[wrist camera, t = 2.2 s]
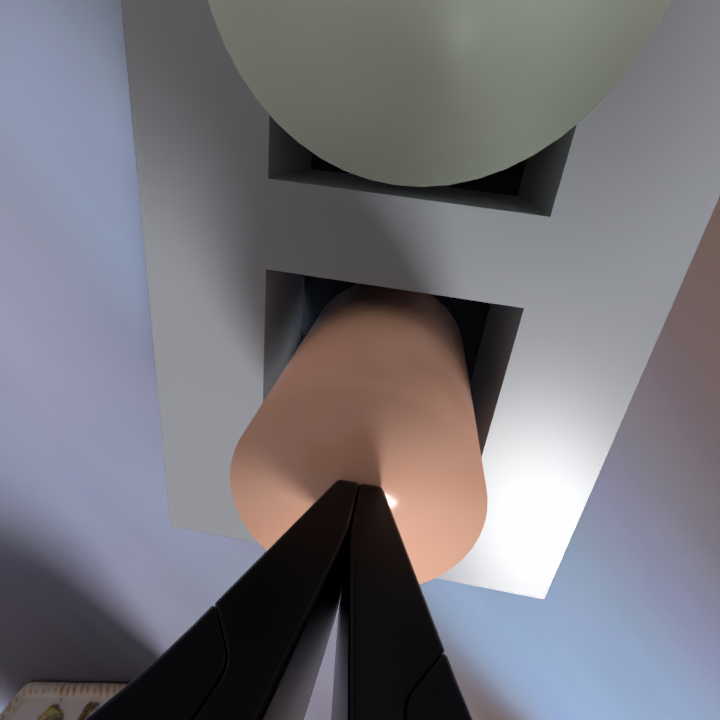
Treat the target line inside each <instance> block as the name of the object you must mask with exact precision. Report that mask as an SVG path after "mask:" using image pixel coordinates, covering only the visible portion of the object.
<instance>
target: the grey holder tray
mask: <svg viewBox="0 0 720 720" xmlns="http://www.w3.org/2000/svg"><path fill="white" fill-rule="evenodd" d="M121 5H122V16H123V27H124V37H125V48H126V58H127V69H128V80H129V90H130V101H131V112H132V122H133V133H134V143H135V154H136V165H137V175H138V186H139V197H140V207H141V218H142V228H143V239H144V250H145V260H146V271H147V282H148V292H149V303H150V314H151V324H152V335H153V345H154V356H155V367H156V377H157V388H158V399H159V409H160V420H161V430H162V441H163V452H164V462H165V473H166V484H167V494H168V505H169V515H170V526H173V527H178V528H183V529H188V530H193V531H198V532H203V533H209V534H214V535H219V536H224V537H229V538H234V539H239V540H244V541H249V542H254V543H258V542H257V540H256V539H255V538H254V537H253V536H252V534H251V533H250V532H249V530H248V529H247V528H246V526H245V524H244V523H243V521H242V519H241V517H240V516H239V513H238V511H237V508H236V506H235V504H234V500H233V496H232V492H231V484H230V469H231V462H232V458H233V453H234V451H235V448H236V446H237V444H238V441H239V439H240V438H241V436H242V435H243V433H244V431H245V430H246V428H247V427H248V425H249V424H250V422H251V420H252V419H253V417H254V416H255V414H256V413H257V411H258V410H259V408H260V406H261V405H262V403H263V402H264V400H265V399H266V397H267V396H268V394H269V392H270V391H271V389H272V388H273V386H274V385H275V383H276V381H277V380H278V378H279V377H280V375H281V374H282V372H283V371H284V369H285V367H286V366H287V364H288V363H289V361H290V360H291V358H292V357H293V355H294V353H295V352H296V350H297V349H298V347H299V346H300V341H301V325H302V309H303V292H304V276H305V275H307V276H314V277H320V278H327V279H334V280H340V281H347V282H354V283H360V284H367V285H373V286H380V287H387V288H393V289H400V290H407V291H413V292H420V293H427V294H433V295H440V296H447V297H453V298H460V299H466V300H473V301H480V302H486V303H490V307H489V311H488V315H487V319H486V323H485V327H484V331H483V335H482V339H481V343H480V347H479V351H478V355H477V359H476V363H475V367H474V371H473V375H472V379H471V383H470V390H471V396H472V402H473V408H474V415H475V421H476V427H477V433H478V439H479V445H480V451H481V458H482V464H483V470H484V476H485V482H486V489H487V497H488V502H487V515H486V519H485V524H484V527H483V529H482V532H481V534H480V536H479V538H478V540H477V542H476V543H475V545H474V546H473V548H472V549H471V550H470V552H469V553H468V554H467V555H466V556H465V557H464V558H463V559H462V560H461V561H460V562H459V563H458V564H457V565H455V566H454V567H453V568H451V569H450V570H448V571H447V572H445V573H444V574H442V575H440V576H438V577H436V578H438V579H443V580H448V581H453V582H458V583H463V584H468V585H473V586H479V587H484V588H489V589H494V590H499V591H504V592H509V593H514V594H519V595H524V596H529V597H535V598H540V599H544V598H545V596H546V594H547V591H548V589H549V587H550V584H551V582H552V580H553V578H554V575H555V573H556V571H557V568H558V566H559V564H560V562H561V559H562V557H563V555H564V552H565V550H566V548H567V545H568V543H569V541H570V539H571V536H572V534H573V532H574V529H575V527H576V525H577V522H578V520H579V518H580V516H581V513H582V511H583V509H584V506H585V504H586V502H587V500H588V497H589V495H590V493H591V490H592V488H593V486H594V483H595V481H596V479H597V477H598V474H599V472H600V470H601V467H602V465H603V463H604V460H605V458H606V456H607V454H608V451H609V449H610V447H611V444H612V442H613V440H614V438H615V435H616V433H617V431H618V428H619V426H620V424H621V421H622V419H623V417H624V415H625V412H626V410H627V408H628V405H629V403H630V401H631V399H632V396H633V394H634V392H635V389H636V387H637V385H638V382H639V380H640V378H641V376H642V373H643V371H644V369H645V366H646V364H647V362H648V359H649V357H650V355H651V353H652V350H653V348H654V346H655V343H656V341H657V339H658V337H659V334H660V332H661V330H662V327H663V325H664V323H665V320H666V318H667V316H668V314H669V311H670V309H671V307H672V304H673V302H674V300H675V297H676V295H677V293H678V291H679V288H680V286H681V284H682V281H683V279H684V277H685V275H686V272H687V270H688V268H689V265H690V263H691V261H692V258H693V256H694V254H695V252H696V249H697V247H698V245H699V242H700V240H701V238H702V235H703V233H704V231H705V229H706V226H707V224H708V222H709V219H710V217H711V215H712V213H713V210H714V208H715V206H716V203H717V201H718V199H719V196H720V0H671V2H670V4H669V6H668V8H667V10H666V12H665V14H664V16H663V18H662V20H661V22H660V23H659V25H658V27H657V28H656V30H655V31H654V33H653V34H652V36H651V38H650V39H649V41H648V42H647V44H646V45H645V47H644V49H643V50H642V52H641V53H640V55H639V56H638V58H637V59H636V60H635V62H634V63H633V64H632V66H631V67H630V68H629V69H628V71H627V72H626V73H625V74H624V76H623V77H622V78H621V79H620V81H619V82H618V83H617V85H616V86H615V87H614V88H613V89H612V90H611V91H610V93H609V94H608V95H607V96H606V97H605V98H604V99H603V100H602V101H601V102H600V103H599V104H598V105H597V106H596V107H595V108H594V109H593V110H592V111H591V112H590V113H589V114H588V115H587V116H586V117H585V118H583V119H582V120H581V121H580V122H579V123H577V124H576V125H575V126H574V127H573V128H571V129H570V130H569V131H568V132H567V133H565V134H564V135H563V136H562V137H561V138H559V139H558V140H556V141H554V142H553V143H551V144H550V145H548V146H547V147H545V148H544V149H542V150H541V151H539V152H538V153H536V154H535V155H533V156H531V157H529V158H527V160H526V164H525V168H524V172H523V176H522V180H521V184H520V188H519V192H518V196H511V195H504V194H496V193H489V192H481V191H474V190H466V189H459V188H451V187H444V186H429V187H416V186H400V185H392V184H387V183H383V182H378V181H373V180H369V179H366V178H363V177H360V176H358V175H353V174H346V173H338V172H331V171H323V170H316V169H311V161H312V152H311V151H309V150H308V149H307V148H305V147H304V146H302V145H301V144H300V143H298V142H297V141H296V140H295V139H294V138H293V137H292V136H290V135H289V134H288V133H287V132H286V131H285V130H284V129H283V128H282V127H281V126H280V125H278V124H277V123H276V122H275V120H274V119H273V118H272V117H271V116H270V114H269V113H268V112H267V111H266V110H265V109H264V107H263V106H262V105H261V104H260V103H259V102H258V100H257V99H256V98H255V96H254V95H253V93H252V92H251V90H250V89H249V87H248V86H247V84H246V83H245V81H244V80H243V78H242V77H241V75H240V74H239V72H238V70H237V68H236V66H235V64H234V62H233V60H232V58H231V57H230V55H229V53H228V51H227V49H226V47H225V45H224V43H223V40H222V38H221V35H220V33H219V30H218V28H217V25H216V23H215V20H214V18H213V15H212V12H211V9H210V6H209V2H208V0H121Z"/></svg>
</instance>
